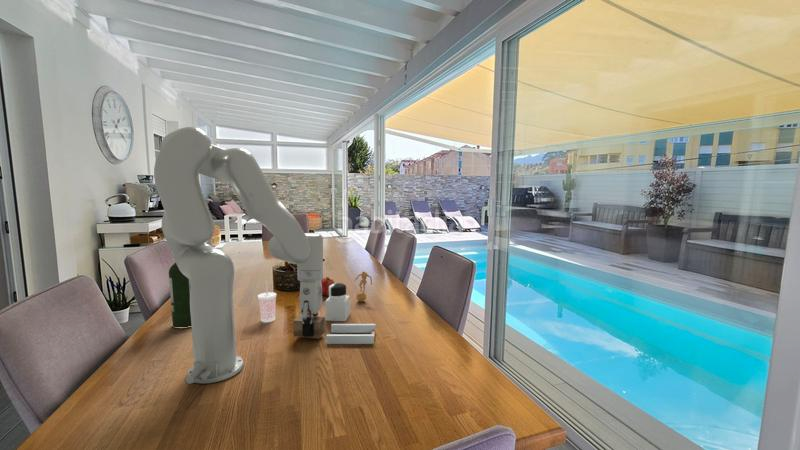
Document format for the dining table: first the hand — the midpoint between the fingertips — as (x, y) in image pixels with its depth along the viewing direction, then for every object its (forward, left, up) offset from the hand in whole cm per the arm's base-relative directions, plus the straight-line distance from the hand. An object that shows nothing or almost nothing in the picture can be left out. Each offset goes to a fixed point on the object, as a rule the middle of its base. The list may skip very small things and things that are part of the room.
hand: (310, 331), depth 110 cm
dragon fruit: (+43, +4, -2) cm, 43 cm away
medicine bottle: (+17, -6, -2) cm, 18 cm away
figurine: (+35, -13, -2) cm, 37 cm away
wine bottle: (+11, +44, -2) cm, 46 cm away
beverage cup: (+15, +18, -2) cm, 24 cm away
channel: (+1, -13, -2) cm, 13 cm away
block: (0, 0, -1) cm, 1 cm away
